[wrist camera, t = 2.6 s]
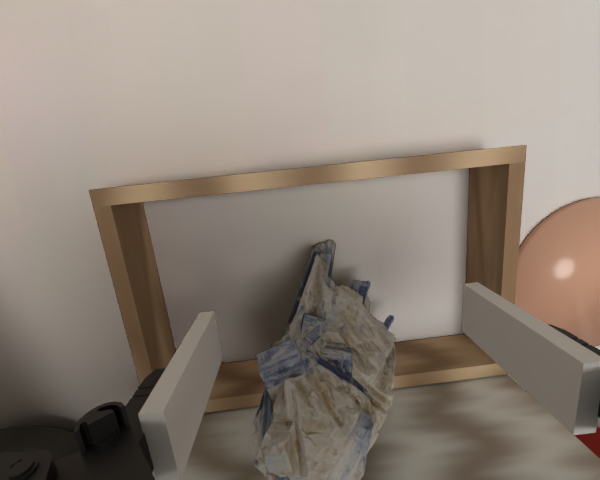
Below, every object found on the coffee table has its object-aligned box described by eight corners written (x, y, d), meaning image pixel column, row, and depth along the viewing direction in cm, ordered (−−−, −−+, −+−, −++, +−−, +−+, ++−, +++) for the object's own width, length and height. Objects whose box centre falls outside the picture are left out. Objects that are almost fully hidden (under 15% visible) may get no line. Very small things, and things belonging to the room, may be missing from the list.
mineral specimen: (339, 536, 15) (386, 566, 12) (197, 450, 15) (204, 456, 12) (400, 302, 24) (437, 281, 21) (312, 246, 24) (334, 216, 21)
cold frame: (172, 391, 25) (-7, 749, 10) (124, 186, 21) (-312, 233, 6) (474, 353, 26) (761, 627, 10) (483, 149, 22) (966, 101, 6)
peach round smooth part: (502, 354, 26) (507, 359, 26) (512, 206, 23) (518, 207, 23) (645, 336, 27) (653, 340, 26) (673, 188, 24) (683, 189, 23)
